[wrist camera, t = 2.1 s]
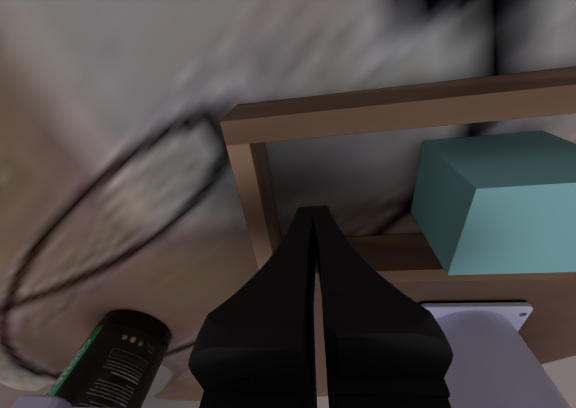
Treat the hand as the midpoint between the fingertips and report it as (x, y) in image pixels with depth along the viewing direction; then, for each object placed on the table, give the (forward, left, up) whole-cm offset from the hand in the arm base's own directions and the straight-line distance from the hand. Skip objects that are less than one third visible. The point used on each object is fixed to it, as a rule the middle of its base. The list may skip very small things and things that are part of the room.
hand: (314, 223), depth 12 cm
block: (0, -9, -4) cm, 9 cm away
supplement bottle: (-15, +18, -4) cm, 24 cm away
